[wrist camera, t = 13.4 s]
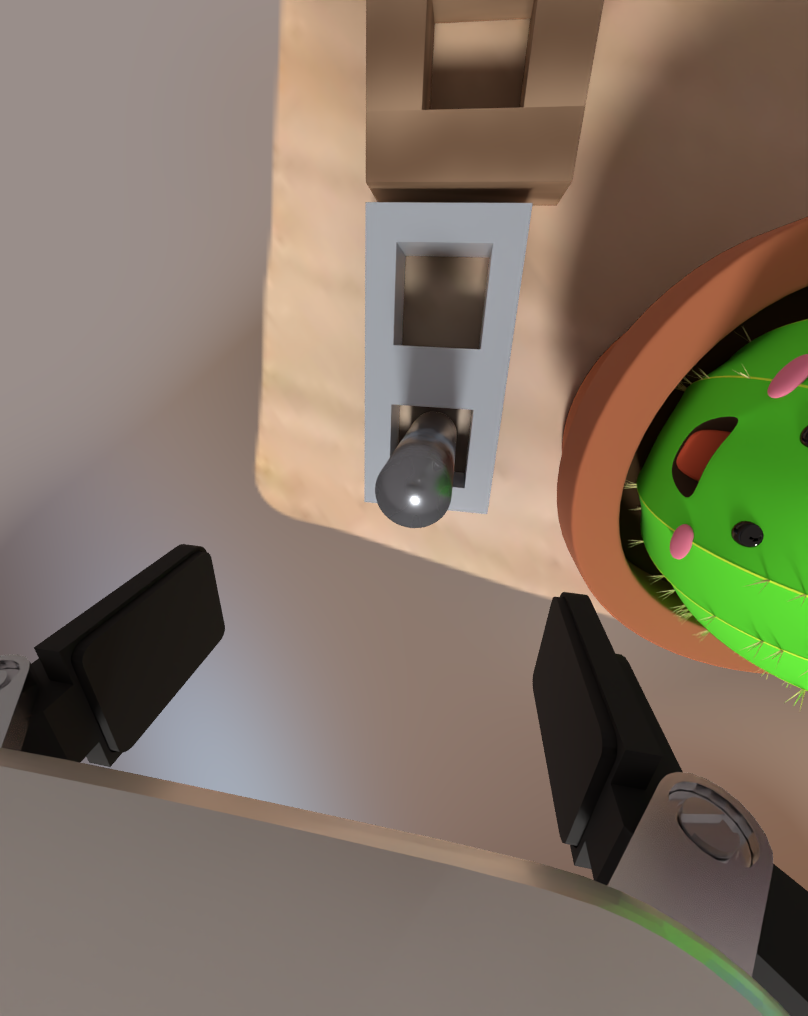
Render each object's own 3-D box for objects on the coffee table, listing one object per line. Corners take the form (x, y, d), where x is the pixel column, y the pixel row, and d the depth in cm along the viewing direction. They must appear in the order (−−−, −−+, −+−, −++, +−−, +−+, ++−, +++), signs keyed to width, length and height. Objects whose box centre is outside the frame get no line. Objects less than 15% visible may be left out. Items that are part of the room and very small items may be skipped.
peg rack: (379, 222, 27) (365, 202, 23) (523, 223, 26) (532, 202, 22) (375, 485, 35) (364, 501, 31) (484, 496, 34) (487, 514, 30)
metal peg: (411, 409, 32) (375, 452, 19) (459, 413, 31) (455, 458, 18) (408, 456, 33) (374, 523, 21) (454, 459, 33) (447, 531, 20)
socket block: (383, -54, 22) (367, -134, 18) (602, -70, 20) (632, -162, 17) (379, 204, 26) (365, 181, 23) (556, 205, 25) (571, 181, 21)
